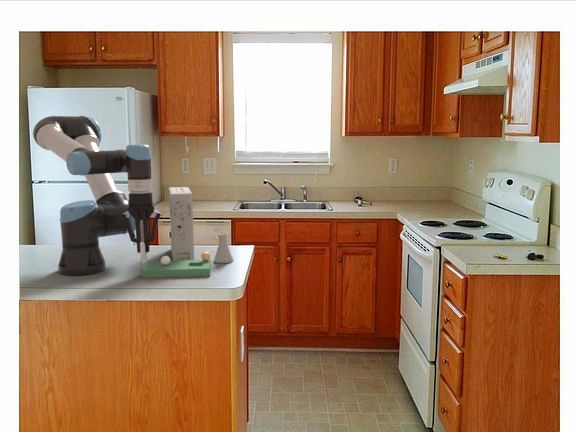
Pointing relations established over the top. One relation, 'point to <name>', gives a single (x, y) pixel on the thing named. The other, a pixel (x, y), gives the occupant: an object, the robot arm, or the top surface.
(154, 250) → the top surface
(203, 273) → the green
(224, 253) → the flask
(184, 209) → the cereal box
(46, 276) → the top surface
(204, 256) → the orange ball
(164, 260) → the ball
